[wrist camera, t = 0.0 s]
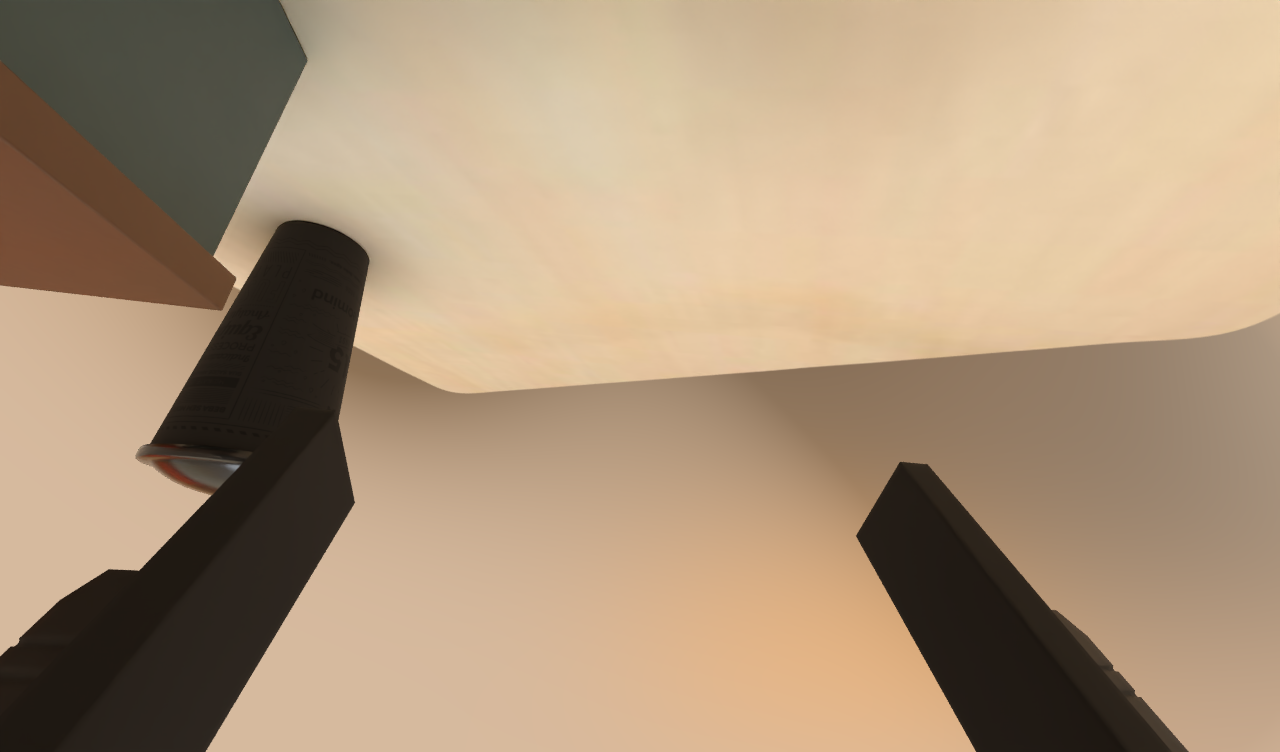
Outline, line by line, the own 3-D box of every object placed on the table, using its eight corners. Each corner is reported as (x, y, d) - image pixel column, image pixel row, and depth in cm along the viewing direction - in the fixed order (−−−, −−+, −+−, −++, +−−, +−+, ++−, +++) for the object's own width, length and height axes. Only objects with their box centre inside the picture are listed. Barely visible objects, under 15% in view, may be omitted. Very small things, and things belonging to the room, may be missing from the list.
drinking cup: (318, 286, 33) (201, 606, 25) (210, 208, 26) (2, 618, 18) (419, 281, 31) (329, 615, 24) (333, 197, 25) (168, 631, 17)
